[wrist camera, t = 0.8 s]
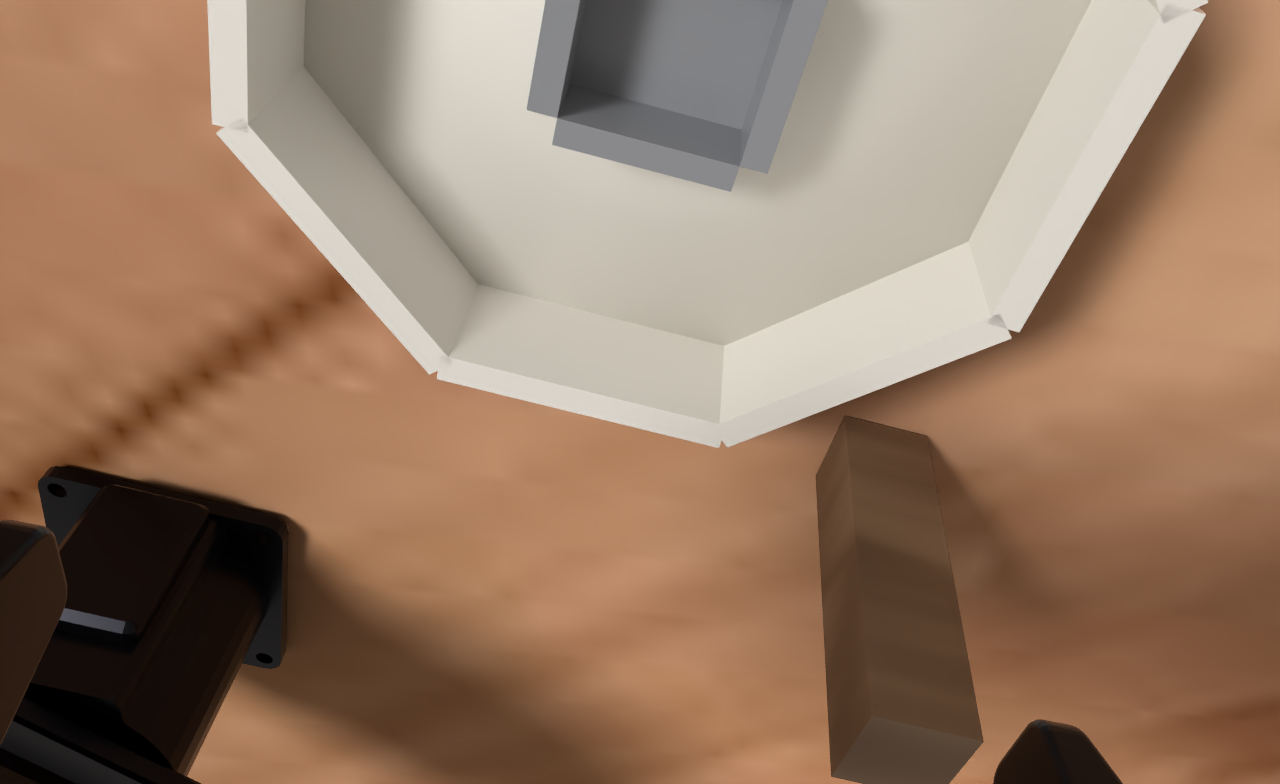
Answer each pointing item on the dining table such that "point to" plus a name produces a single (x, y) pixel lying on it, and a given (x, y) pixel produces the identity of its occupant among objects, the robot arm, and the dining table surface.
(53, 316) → the dining table surface
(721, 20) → the octagonal white tray
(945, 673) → the tall wooden post
